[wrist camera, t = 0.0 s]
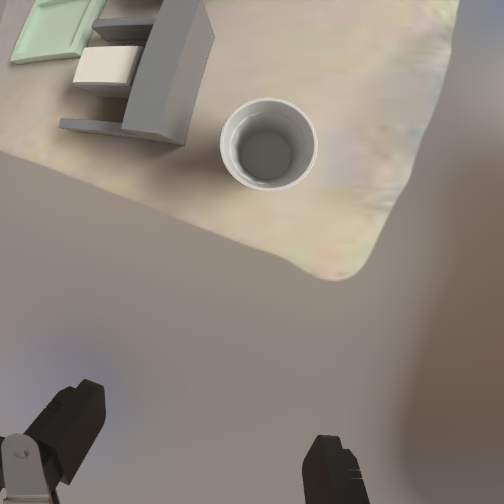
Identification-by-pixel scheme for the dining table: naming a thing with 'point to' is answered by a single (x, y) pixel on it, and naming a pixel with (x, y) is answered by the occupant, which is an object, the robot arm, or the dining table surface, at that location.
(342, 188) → the dining table surface
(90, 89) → the white block
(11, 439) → the robot arm
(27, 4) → the dining table surface
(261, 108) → the cup
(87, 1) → the tray
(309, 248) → the dining table surface
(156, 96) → the bay
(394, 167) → the dining table surface
